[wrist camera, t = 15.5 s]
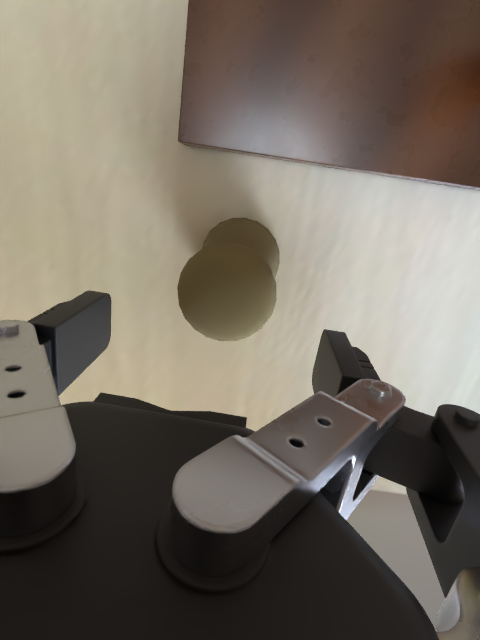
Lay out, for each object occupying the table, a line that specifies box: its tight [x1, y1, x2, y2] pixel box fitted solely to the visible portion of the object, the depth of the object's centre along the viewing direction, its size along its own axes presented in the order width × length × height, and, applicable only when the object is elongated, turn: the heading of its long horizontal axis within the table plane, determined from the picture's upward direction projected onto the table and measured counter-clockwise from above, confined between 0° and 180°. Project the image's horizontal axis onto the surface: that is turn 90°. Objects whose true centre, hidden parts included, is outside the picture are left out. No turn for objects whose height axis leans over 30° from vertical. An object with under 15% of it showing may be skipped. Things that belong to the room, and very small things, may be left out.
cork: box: [178, 218, 279, 341], centre depth 23 cm, size 6×6×11 cm
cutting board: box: [178, 0, 480, 191], centre depth 22 cm, size 24×12×2 cm, turn 82°
